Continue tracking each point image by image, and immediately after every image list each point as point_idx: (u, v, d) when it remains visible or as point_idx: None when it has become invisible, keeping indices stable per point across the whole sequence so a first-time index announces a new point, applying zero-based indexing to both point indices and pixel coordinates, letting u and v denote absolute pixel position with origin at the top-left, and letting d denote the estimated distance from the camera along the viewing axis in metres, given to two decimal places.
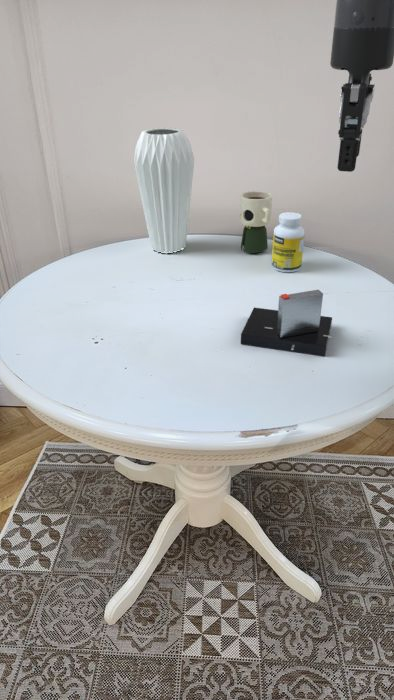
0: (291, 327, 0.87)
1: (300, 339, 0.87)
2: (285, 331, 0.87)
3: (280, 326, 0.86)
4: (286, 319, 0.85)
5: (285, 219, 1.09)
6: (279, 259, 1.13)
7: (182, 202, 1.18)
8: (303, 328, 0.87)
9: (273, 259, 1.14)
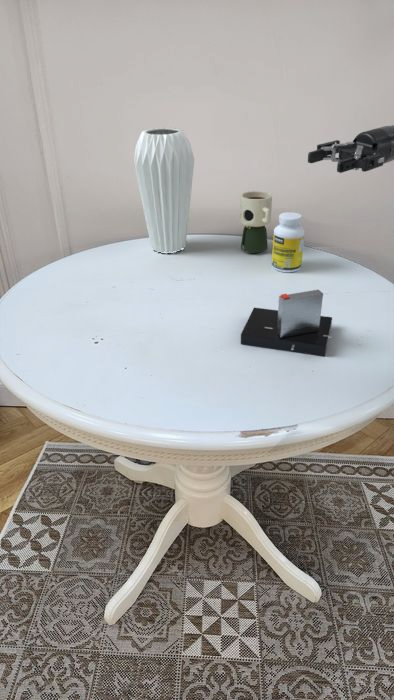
0: (291, 327, 0.87)
1: (300, 339, 0.87)
2: (285, 331, 0.87)
3: (280, 326, 0.86)
4: (286, 319, 0.85)
5: (285, 219, 1.09)
6: (279, 259, 1.13)
7: (182, 202, 1.18)
8: (303, 328, 0.87)
9: (273, 259, 1.14)
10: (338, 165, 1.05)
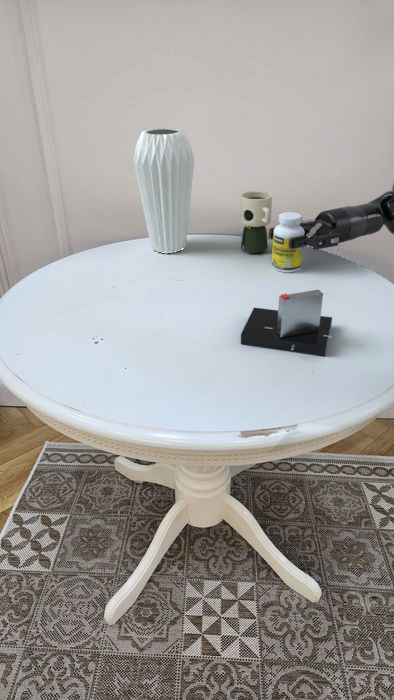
0: (291, 327, 0.87)
1: (300, 339, 0.87)
2: (285, 331, 0.87)
3: (280, 326, 0.86)
4: (286, 319, 0.85)
5: (285, 219, 1.09)
6: (279, 259, 1.13)
7: (182, 202, 1.18)
8: (303, 328, 0.87)
9: (273, 259, 1.14)
10: (289, 242, 1.09)
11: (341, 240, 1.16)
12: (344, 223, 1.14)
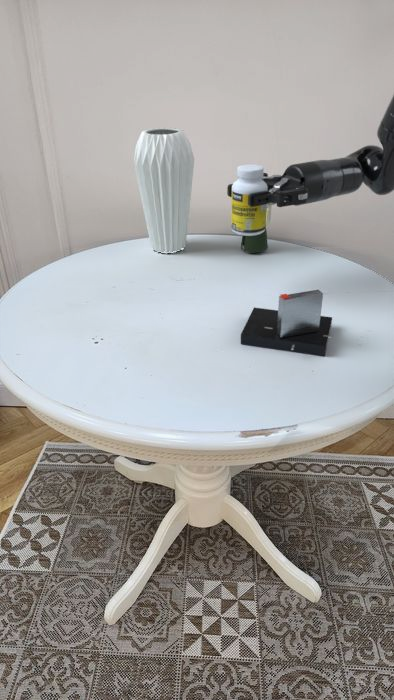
0: (291, 327, 0.87)
1: (300, 339, 0.87)
2: (285, 331, 0.87)
3: (280, 326, 0.86)
4: (286, 319, 0.85)
5: (243, 171, 0.92)
6: (238, 220, 0.96)
7: (182, 202, 1.18)
8: (303, 328, 0.87)
9: (232, 221, 0.98)
10: (249, 198, 0.93)
11: (312, 199, 1.00)
12: (315, 178, 0.97)
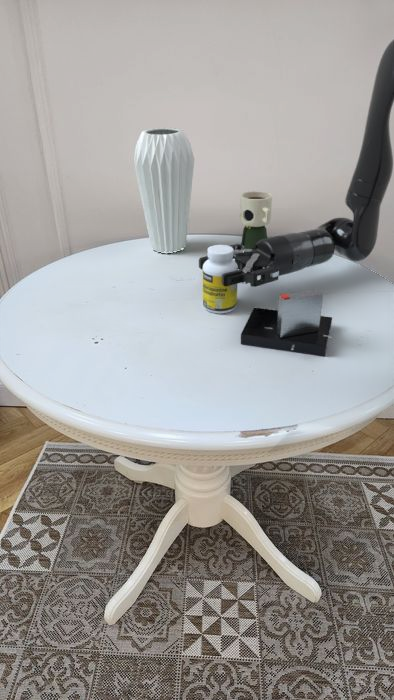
0: (291, 327, 0.87)
1: (300, 339, 0.87)
2: (285, 331, 0.87)
3: (280, 326, 0.86)
4: (286, 319, 0.85)
5: (213, 254, 0.94)
6: (209, 299, 0.98)
7: (182, 202, 1.18)
8: (303, 328, 0.87)
9: (203, 298, 0.99)
10: (222, 278, 0.93)
11: (283, 273, 1.01)
12: (285, 254, 0.98)
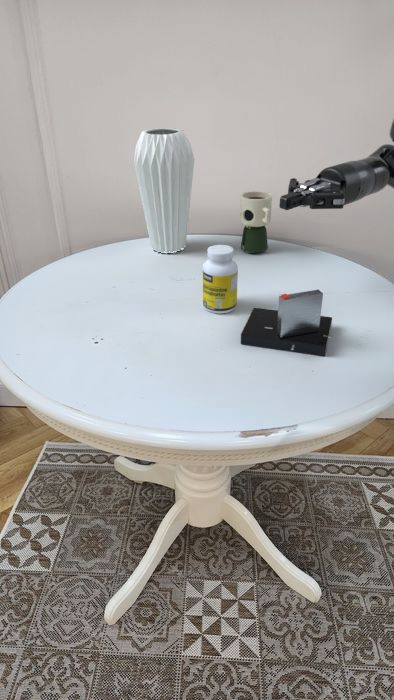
0: (291, 327, 0.87)
1: (300, 339, 0.87)
2: (285, 331, 0.87)
3: (280, 326, 0.86)
4: (286, 319, 0.85)
5: (213, 254, 0.94)
6: (209, 299, 0.98)
7: (182, 202, 1.18)
8: (303, 328, 0.87)
9: (203, 298, 0.99)
10: (284, 201, 0.91)
11: (349, 201, 0.99)
12: (354, 180, 0.97)
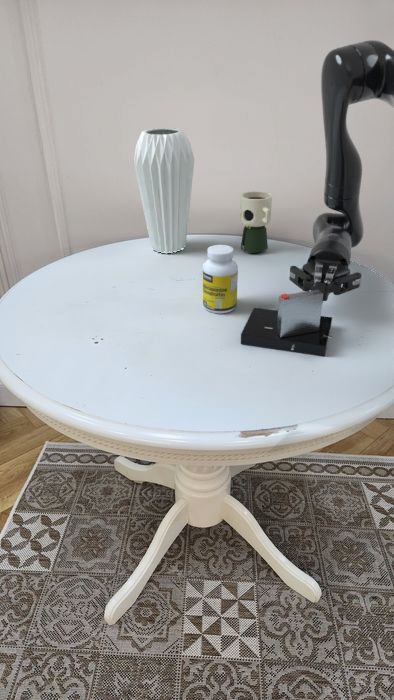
0: (291, 327, 0.87)
1: (300, 339, 0.87)
2: (285, 331, 0.87)
3: (280, 326, 0.86)
4: (286, 319, 0.86)
5: (213, 254, 0.94)
6: (209, 299, 0.98)
7: (182, 202, 1.18)
8: (303, 328, 0.87)
9: (203, 298, 0.99)
10: None
11: None
12: (347, 256, 0.97)
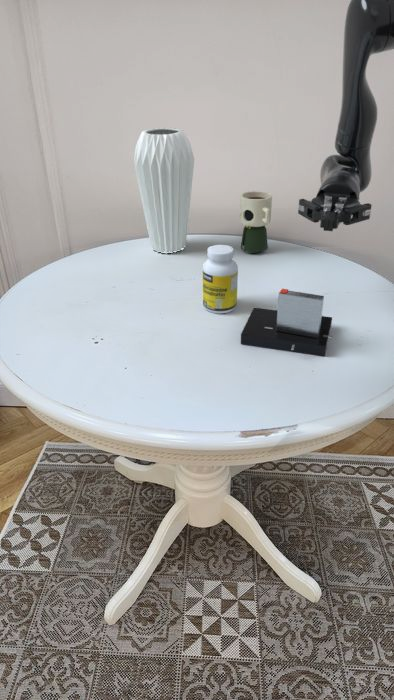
0: (287, 324, 0.88)
1: (300, 339, 0.87)
2: (281, 325, 0.88)
3: (277, 319, 0.88)
4: (282, 314, 0.87)
5: (213, 254, 0.94)
6: (209, 299, 0.98)
7: (182, 202, 1.18)
8: (300, 329, 0.87)
9: (203, 298, 0.99)
10: (330, 223, 0.86)
11: None
12: (357, 190, 0.96)
